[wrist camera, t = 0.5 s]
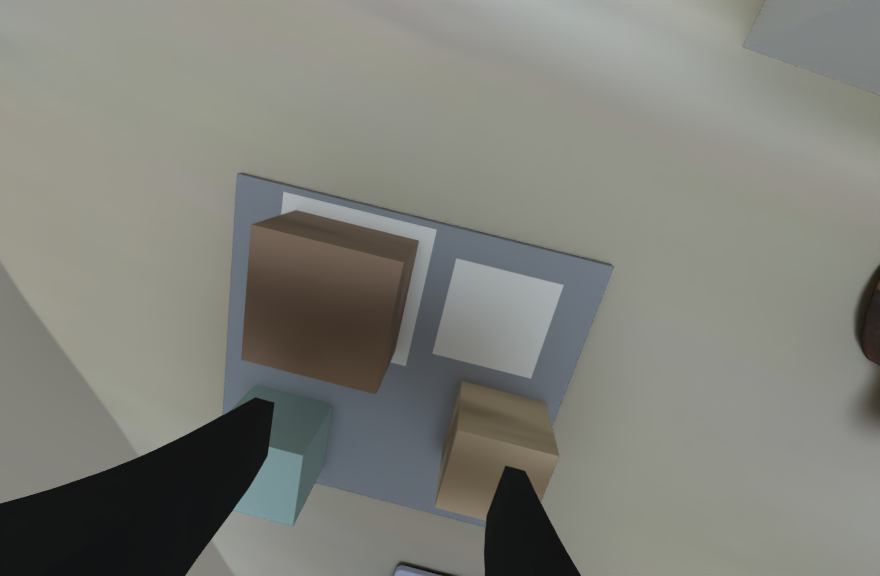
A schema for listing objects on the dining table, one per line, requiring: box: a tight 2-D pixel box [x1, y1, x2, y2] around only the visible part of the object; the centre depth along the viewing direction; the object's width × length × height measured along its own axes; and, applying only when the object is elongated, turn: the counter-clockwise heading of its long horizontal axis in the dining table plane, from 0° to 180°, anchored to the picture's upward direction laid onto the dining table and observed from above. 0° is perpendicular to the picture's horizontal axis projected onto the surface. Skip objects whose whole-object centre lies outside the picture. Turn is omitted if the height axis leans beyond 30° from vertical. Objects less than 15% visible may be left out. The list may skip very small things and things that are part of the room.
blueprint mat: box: [223, 173, 614, 527], centre depth 22 cm, size 17×18×1 cm
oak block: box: [435, 381, 559, 521], centre depth 20 cm, size 4×4×4 cm
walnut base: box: [241, 210, 419, 394], centre depth 18 cm, size 6×6×4 cm
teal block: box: [230, 385, 333, 526], centre depth 22 cm, size 4×4×4 cm
